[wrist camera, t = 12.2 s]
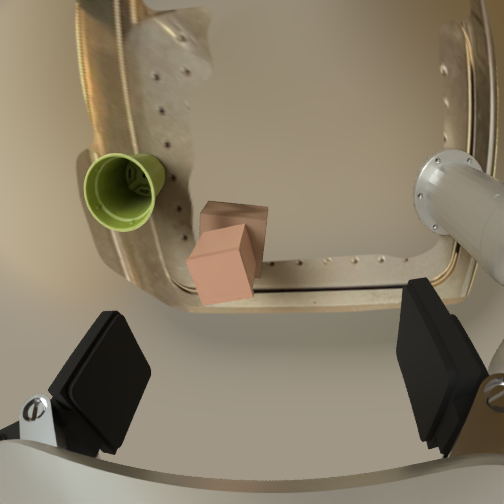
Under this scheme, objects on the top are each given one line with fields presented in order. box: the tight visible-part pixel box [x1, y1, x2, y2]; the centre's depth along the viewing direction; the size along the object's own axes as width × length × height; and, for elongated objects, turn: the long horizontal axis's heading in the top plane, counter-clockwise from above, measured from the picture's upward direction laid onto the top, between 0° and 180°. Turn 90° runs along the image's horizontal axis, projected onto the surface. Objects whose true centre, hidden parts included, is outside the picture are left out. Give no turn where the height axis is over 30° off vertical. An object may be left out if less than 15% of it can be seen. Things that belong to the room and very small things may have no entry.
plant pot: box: [84, 153, 165, 232], centre depth 37 cm, size 9×9×9 cm
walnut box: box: [200, 201, 268, 278], centre depth 41 cm, size 8×8×5 cm
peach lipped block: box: [186, 224, 256, 305], centre depth 36 cm, size 6×6×7 cm
